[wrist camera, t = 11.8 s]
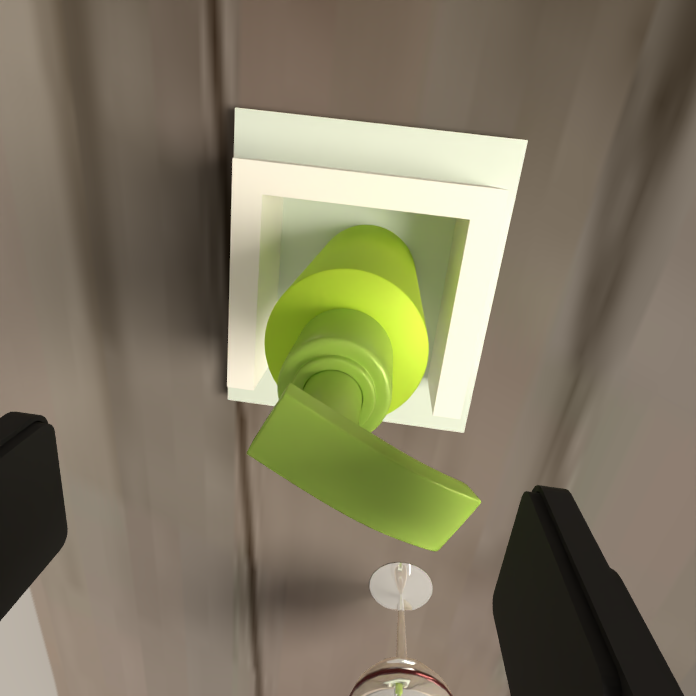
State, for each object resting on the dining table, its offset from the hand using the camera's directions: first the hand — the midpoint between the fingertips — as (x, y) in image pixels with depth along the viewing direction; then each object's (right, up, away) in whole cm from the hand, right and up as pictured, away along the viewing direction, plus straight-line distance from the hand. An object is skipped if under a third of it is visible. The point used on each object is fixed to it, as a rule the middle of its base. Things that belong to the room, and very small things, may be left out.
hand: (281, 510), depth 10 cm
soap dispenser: (+3, +7, +20) cm, 22 cm away
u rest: (+2, +7, +21) cm, 23 cm away
